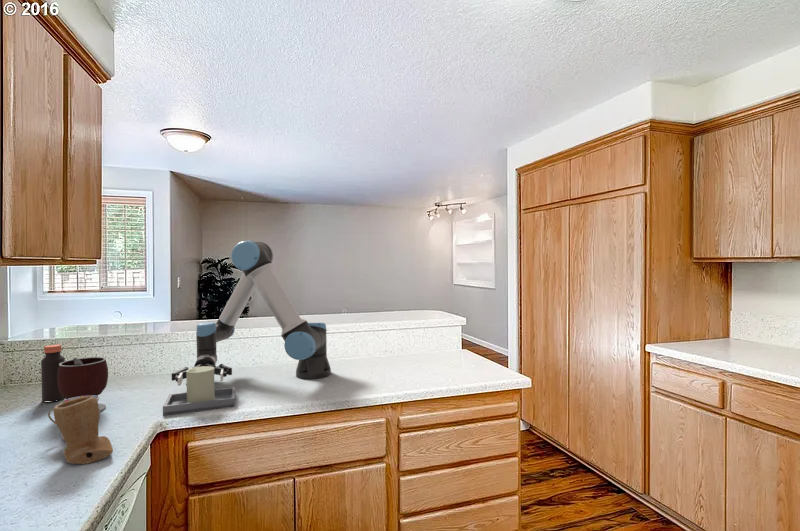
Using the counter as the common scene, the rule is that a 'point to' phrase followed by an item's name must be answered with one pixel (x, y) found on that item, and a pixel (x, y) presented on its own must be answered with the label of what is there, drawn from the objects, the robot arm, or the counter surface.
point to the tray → (180, 405)
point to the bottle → (51, 373)
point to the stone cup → (81, 430)
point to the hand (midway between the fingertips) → (200, 379)
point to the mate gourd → (83, 377)
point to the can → (200, 384)
